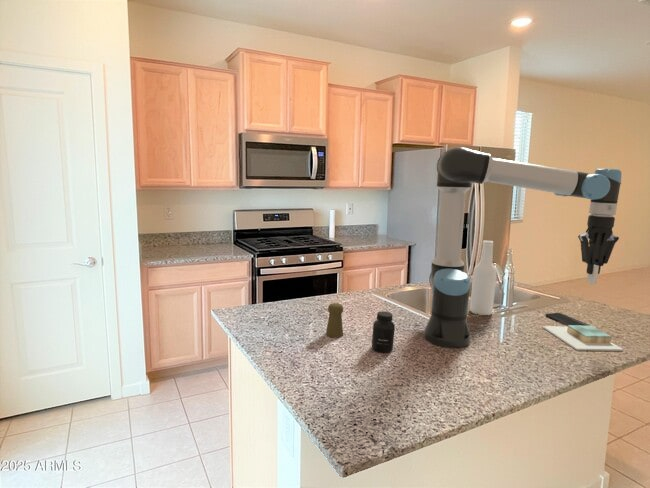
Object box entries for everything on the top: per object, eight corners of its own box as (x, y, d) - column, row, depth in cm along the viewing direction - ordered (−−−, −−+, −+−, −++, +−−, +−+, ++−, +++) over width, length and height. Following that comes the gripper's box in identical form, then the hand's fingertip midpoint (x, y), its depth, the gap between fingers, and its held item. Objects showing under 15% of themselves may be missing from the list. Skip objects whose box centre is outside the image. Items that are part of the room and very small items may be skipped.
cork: (346, 333, 144) (347, 303, 142) (339, 339, 139) (340, 308, 137) (330, 329, 147) (331, 300, 145) (322, 335, 141) (324, 305, 139)
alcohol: (492, 317, 165) (500, 243, 160) (469, 314, 168) (476, 241, 163) (491, 310, 174) (499, 240, 168) (469, 307, 176) (476, 238, 171)
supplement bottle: (379, 355, 128) (381, 318, 125) (367, 347, 134) (369, 311, 131) (397, 351, 131) (400, 315, 129) (384, 343, 137) (387, 308, 135)
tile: (567, 325, 151) (591, 325, 151) (567, 331, 151) (590, 331, 152) (586, 336, 141) (611, 336, 142) (585, 342, 142) (610, 343, 142)
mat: (576, 350, 136) (576, 348, 136) (542, 327, 156) (542, 326, 156) (623, 350, 137) (623, 349, 137) (583, 328, 157) (583, 326, 157)
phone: (559, 312, 172) (591, 325, 158) (558, 315, 172) (591, 328, 158) (544, 314, 169) (575, 327, 155) (543, 316, 170) (575, 330, 156)
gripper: (590, 216, 135) (580, 285, 139) (628, 217, 136) (617, 286, 140) (575, 213, 142) (566, 279, 147) (612, 214, 143) (601, 280, 147)
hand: (591, 283), depth 143 cm, fingers closed
